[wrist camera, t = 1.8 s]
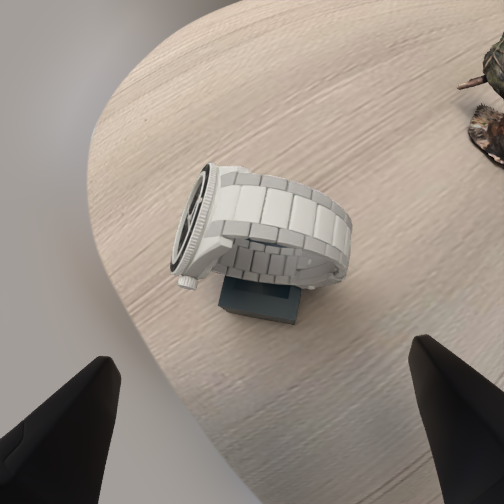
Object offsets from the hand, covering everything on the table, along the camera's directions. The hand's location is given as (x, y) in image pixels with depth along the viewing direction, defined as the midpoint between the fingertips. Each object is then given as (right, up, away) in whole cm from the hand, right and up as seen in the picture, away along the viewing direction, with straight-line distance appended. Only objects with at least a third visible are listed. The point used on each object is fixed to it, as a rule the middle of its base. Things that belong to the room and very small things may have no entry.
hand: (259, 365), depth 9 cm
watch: (+1, +1, +13) cm, 13 cm away
